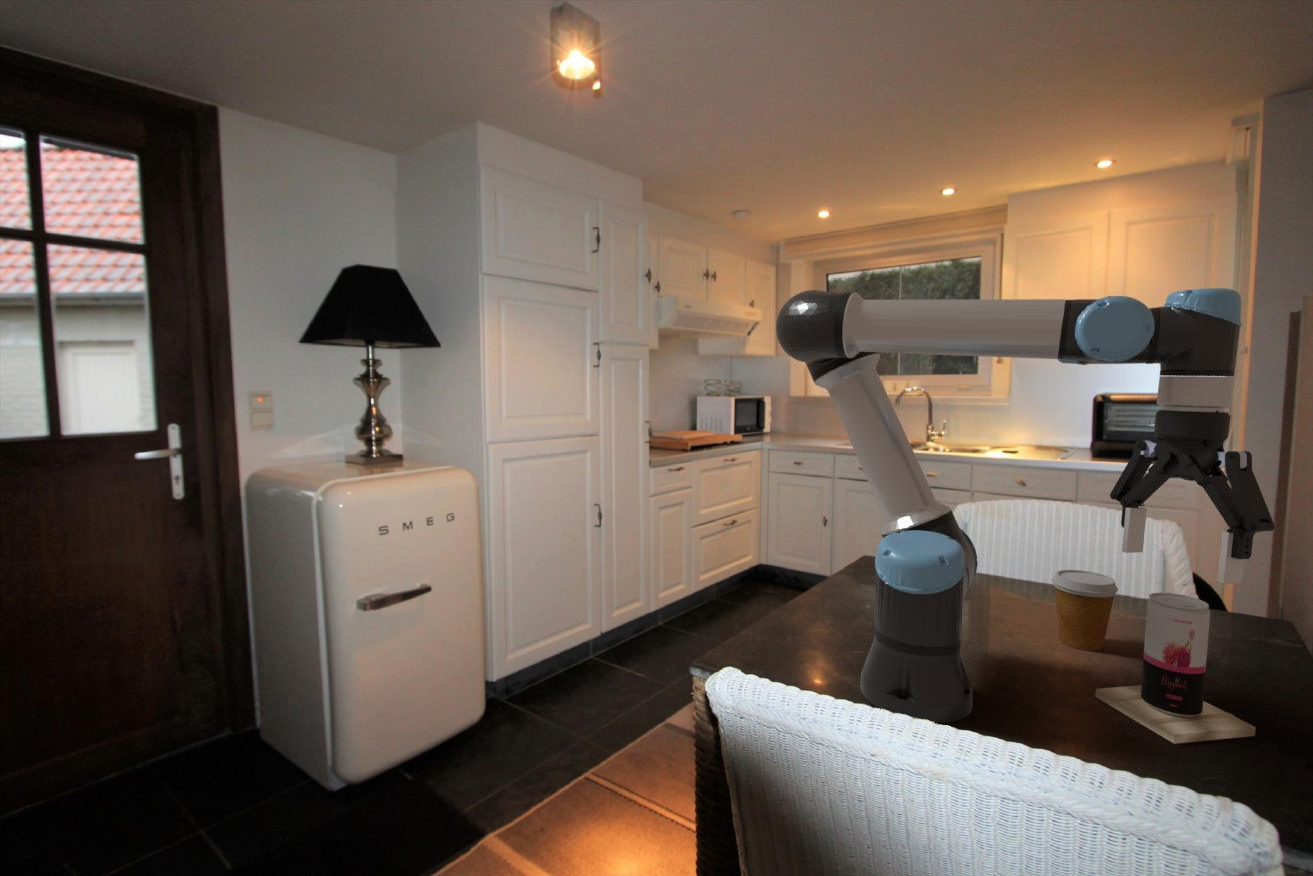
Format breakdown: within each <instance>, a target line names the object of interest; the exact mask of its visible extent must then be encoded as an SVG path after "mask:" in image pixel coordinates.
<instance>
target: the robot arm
mask: <svg viewBox="0 0 1313 876" xmlns="http://www.w3.org/2000/svg"><path fill="white" fill-rule="evenodd" d="M1241 297H1242V296H1241V294H1240V293H1239V292H1238V291H1237V290H1235V289H1231V288H1222V287H1217V288H1216V287H1214V288H1213V287H1212V288H1209V287H1207V288H1196V289H1184V290H1177V291H1174V292H1170V294H1168V295H1167V296H1166V301H1165V303H1164V305H1163V306H1157V307H1148V306H1147V305H1146V304H1145V303H1144V302H1142V301H1140V300H1139V299H1136V298H1134V297H1130V296H1125V295H1110V296H1106V297H1101V298H1099V299H1097V298H1096V299H1095V298H1094V299H1093V298H1090V299H1089V298H1086V299H1085V298H1084V299H1080V298H1079V299H1066V298H1065V299H1064V298H1063V299H1062V298H1061V299H1059V298H1058V299H1056V298H1055V299H1053V298H1052V299H1050V298H1049V299H1048V298H1046V299H1041V298H1040V299H1038V298H1037V299H1036V298H1035V299H1033V298H1031V299H1030V298H1029V299H1028V298H1027V299H1026V298H1025V299H1023V298H1021V299H1020V298H1019V299H1018V298H1017V299H1016V298H1015V299H1014V298H1013V299H1010V298H1009V299H1004V298H1002V299H996V298H995V299H988V298H987V299H864V298H863V297H862V296H861V295H860V294H859V293H858V292H834V291H826V290H820V289H819V290H818V289H811V290H804V291H800V292H799V293H796V294H795V295H793V296H792V297H791V298H789V299H788V300H787V301H786V302H785V303H784V304H783V306H782V307H781V309H780V310H779V312H778V315H777V318H776V321H775V322H776V323H775V333H776V338H777V341H778V343H779V346H780V347H781V349H782V350H783V351H784V352H785V353H786V354H787V355H788V357H789V356H790V357H791V358H793V359H794V360H796V361H799V362H802V363H805V365H806V367H807V369H808V372H809V374H810V376H811V379H812V381H813V383H814V384H815V386H817V387H819V388H823V389H825V390H826V391H827V392H828V395H829V397H830V399H831V401H832V403H833V406H834V409H835V411H836V413H837V415H838V417H839V420H840V422H841V424H842V426H843V428H844V431H845V433H846V435H847V437H848V440H849V442H850V445H851V446H852V447H851V448H852V449H853V451H854V453H855V455H856V458H857V460H858V462H859V464H860V467H861V469H862V471H863V473H864V476H865V478H866V481H867V483H868V485H869V487H870V489H871V492H872V494H873V497H874V498H875V501H876V502H877V505H878V508H879V509H880V512H881V514H882V516H883V518H884V520H883V521H884V522H883V524H882V526H881V529H880V535H881V537H882V538H881V540H880V541H879V543H878V544H877V545H878V546H877V551H876V555H875V558H874V564H875V565H874V568H875V593H874V594H875V595H874V596H875V597H874V600H875V601H874V632H873V633H874V635H873V636H874V637H873V641H872V644H871V646H870V649H869V651H868V654H867V657H866V659H865V662H864V664H863V668H862V670H861V671H860V672H861V673H860V692H861V694H862V695H863V697H864V698H865V699H866V700H867V701H868V702H869V703H870V704H871V705H872V706H874V707H876V708H877V707H880V708H883V709H886V710H890V711H892V712H899V713H902V714H907V715H910V716H914V717H918V718H921V719H928V720H930V721H935V722H936V723H935V724H946V723H952V722H953V723H954V722H957V721H960V720H963V719H965V718H966V717H968V716H969V715H970V714H971V712H972V710H973V698H974V693H973V688H972V685H971V682H970V678H969V675H968V672H967V668H966V665H965V662H964V658H963V656H962V651H961V648H962V647H961V646H962V630H963V629H962V628H963V605H964V598H965V596H966V594H967V592H968V590H969V588H970V586H971V585H972V583H973V582H974V579H975V577H976V575H977V571H978V563H979V561H978V554H977V550H976V547H975V545H974V543H973V541H972V540H971V538H970V537H969V535H968V534H967V533H966V532H965V531H964V530H963V529H962V528H961V527H960V525H959V524H958V521H957V519H956V517H955V514H954V511H952V508H951V507H950V506H948V505H946V504H943V503H942V502H939V501H938V500H937V499H936V498H935V495H934V494H933V491H932V489H931V487H930V484H929V482H928V480H927V478H926V475H925V473H924V472H923V469H922V468H921V465H920V463H919V461H918V459H917V456H916V454H915V452H914V450H913V448H912V445H911V443H910V441H909V438H908V437H907V434H906V433H905V430H904V428H903V426H902V422H901V421H900V418H899V417H898V415H897V413H896V410H895V407H894V406H893V404H892V402H891V399H890V398H889V395H888V394H887V391H886V388H885V386H884V385H883V382H882V380H881V378H880V375H879V373H878V372H877V366H878V362H879V361H880V358H881V355H880V353H882V354H883V353H886V354H887V353H888V354H910V355H917V354H918V355H935V356H939V355H940V356H941V355H942V356H961V357H962V356H963V357H964V356H965V357H989V358H1013V359H1015V358H1018V359H1040V360H1041V359H1043V360H1057V361H1058V362H1059V363H1062V364H1075V365H1082V366H1086V365H1122V364H1123V365H1127V364H1128V365H1129V364H1130V365H1131V364H1132V365H1133V364H1135V365H1136V364H1147V365H1152V364H1158V365H1159V367H1160V370H1159V379H1158V380H1159V381H1158V389H1157V396H1156V404H1157V405H1158V406H1160V407H1161V409H1158V410H1157V411H1156V412H1155V418H1154V419H1155V421H1154V429H1153V433H1154V436H1155V437H1157V438H1158V439H1157V441H1156V440H1136V441H1135V442H1134V446H1133V450H1132V455H1131V457H1130V458H1129V460H1128V462H1127V464H1126V466H1125V467H1124V469H1123V470H1122V473H1121V474H1120V476H1119V478H1118V480H1117V481H1116V483H1115V484H1114V486H1113V488H1112V490H1111V492H1110V494H1109V496H1110V499H1112V500H1114V501H1117V502H1118V503H1120V505H1121V506H1122V510H1121V520H1120V521H1121V522H1120V525H1121V528H1123V535H1122V545H1121V552H1122V553H1126V554H1130V553H1134V554H1135V553H1143V552H1144V543H1145V532H1146V531H1145V530H1146V521H1147V510H1148V509H1147V508H1146V504H1145V502H1146V501H1147V500H1148V499H1150V497H1152V496H1153V495H1154V494H1155V493H1156V492H1157V491H1158V490H1159V489H1160V488H1161V487H1162V486H1163V485H1164V484H1165V483H1166V482H1167V481H1168V480H1169V479H1172V478H1173V479H1182V480H1184V481H1190V482H1193V481H1194V482H1195V484H1197V485H1198V486H1199V487H1202V488H1203V490H1204V491H1205V493H1206V494H1207V497H1209V499H1210V500H1211V502H1212V503H1213V505H1214V507H1215V508H1216V509H1217V511H1218V512H1219V515H1220V516H1221V517H1222V519H1223V520H1224V522H1225V523H1226V525H1227V526H1228V529H1226V530H1222V532H1221V534H1222V535H1221V543H1220V549H1219V550H1220V551H1219V560H1218V561H1219V563H1218V572H1217V581H1216V582H1217V583H1220V584H1223V585H1226V584H1229V585H1230V584H1242V583H1243V578H1244V570H1245V569H1244V568H1245V561H1246V560H1250V558H1251V557H1252V553H1253V552H1252V550H1253V541H1254V536H1255V534H1257V533H1261V532H1272V531H1274V530H1275V528H1276V526H1275V523H1274V521H1273V517H1272V516H1271V513H1270V510H1269V508H1268V505H1267V503H1266V501H1265V500H1266V499H1264V496H1263V494H1262V491H1261V489H1260V486H1259V484H1258V481H1257V478H1256V475H1255V474H1254V471H1253V456H1252V453H1251V452H1250V451H1248V450H1236V451H1235V450H1230V451H1227V452H1226V451H1225V449H1224V443H1225V442H1226V440H1227V439H1228V438H1229V436H1230V435H1229V434H1230V424H1231V418H1232V417H1231V414H1230V412H1225V409H1229V408H1230V407H1232V404H1233V403H1232V401H1233V392H1234V384H1235V383H1234V382H1235V374H1236V365H1237V357H1238V350H1239V349H1238V348H1239V347H1238V346H1239V341H1240V332H1241V331H1240V330H1241V327H1242V322H1241V321H1242V318H1241V317H1242V315H1241V314H1242V311H1241V309H1242V298H1241ZM1155 457H1156V458H1157V460H1156V461H1155V462H1154V460H1155ZM1153 462H1154V463H1153ZM1152 463H1153V464H1152ZM1221 466H1222V467H1224V469H1225V472H1224V471H1223V469H1222V468H1221ZM1144 506H1145V507H1144Z"/></svg>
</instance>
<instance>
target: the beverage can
mask: <svg viewBox="0 0 1313 876" xmlns="http://www.w3.org/2000/svg"><path fill="white" fill-rule="evenodd" d="M1146 604H1147V605H1146V616H1145V631H1144V644H1143V645H1144V646H1143V660H1142V675H1141V685H1142V687H1141V697H1142V699H1143V700H1144V701H1145V702H1146V703H1147V704H1148V705H1149V706H1151V707H1152V708H1154V709H1156V710H1159V711H1161V712H1164V713H1167V714H1171V715H1175V716H1181V717H1194V716H1197V715H1199V714H1201V713H1202V711H1203V701H1204V697H1205V696H1204V695H1205V683H1206V681H1205V680H1206V671H1207V661H1208V660H1207V659H1208V658H1207V657H1208V645H1209V633H1210V618H1211V610H1210V609H1209V608H1210V605H1209V603H1207V601H1204V600H1201V599H1199V598H1197V597H1196V598H1195V597H1192V596H1188V595H1183V594H1179V593H1178V594H1177V593H1171V592H1153V593H1150V594H1149V596H1148V599H1147V602H1146Z"/></svg>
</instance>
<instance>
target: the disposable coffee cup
mask: <svg viewBox="0 0 1313 876" xmlns="http://www.w3.org/2000/svg"><path fill="white" fill-rule="evenodd" d="M1053 576H1054V577H1052V578H1051V582H1052V583H1053V586H1054V591H1055V593H1054V594H1055V603H1056V611H1057V612H1056V613H1057V625H1058V626H1057V627H1058V633H1059V634H1058V636H1059V639H1058V640H1059V641H1060V643H1062V644H1064V645H1066V646H1068V647H1070V648H1074V649H1077V650H1081V651H1093V652H1094V651H1095V652H1096V651H1101V650H1102V649H1104V643H1105V639H1106V634H1107V629H1108V625H1109V620H1110V617H1111V613H1112V612H1111V611H1112V607H1113V604H1114V603H1113V602H1114V598H1115V596H1116V593H1118V590H1119V588H1118V587H1117V586H1116V580H1115V579H1114V578H1111V577H1109V576H1107V575H1105V574H1102V573H1098V572H1094V571H1087V570H1082V569H1081V570H1079V569H1060V570H1057V571H1055V574H1054V575H1053Z"/></svg>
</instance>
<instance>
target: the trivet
mask: <svg viewBox="0 0 1313 876" xmlns="http://www.w3.org/2000/svg"><path fill="white" fill-rule="evenodd" d="M1141 687H1142V684H1141V685H1140V684H1139V685H1128V686H1115V687H1104V688H1102V687H1101V688H1095V695H1094V696H1095V698H1097V699H1098V700H1101V702H1104V703H1105V704H1106V705H1108V706H1110V707H1112V708H1113V709H1115V710H1117V711H1118V712H1120V713H1121V714H1123V715H1125V716H1126V717H1128V718H1130V719H1132V720H1134V721H1135V722H1137V723H1139V725H1142V726H1144V727H1146V728H1147V729H1149V730H1150V731H1152V732H1154V733H1155V734H1157V735H1159V736H1161V737H1162V738H1164V739H1165V740H1167V741H1169V742H1171V743H1172V744H1186V743H1187V744H1188V743H1195V742H1205V741H1206V742H1207V741H1215V740H1216V741H1217V740H1225V739H1227V740H1228V739H1238V738H1246V737H1247V738H1248V737H1255V735H1256V726H1255V725H1252V724H1250V723H1248V722H1246V721H1244V720H1242V719H1241V718H1238V717H1237V716H1236V715H1234V714H1232V713H1230V712H1226V711H1224V710H1223V709H1221V708H1219V707H1217V706H1214V705H1212V704H1211V703H1208V702H1207V701H1204V700H1203V711H1202V713H1201V714H1199V715H1197V716H1194V717H1181V716H1175V715H1171V714H1167V713H1164V712H1161V711H1159V710H1156V709H1154V708H1152V707H1151V706H1149V705H1148V704H1147V703H1146V702H1145V701H1144V700H1143V699H1142V697H1141Z"/></svg>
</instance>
